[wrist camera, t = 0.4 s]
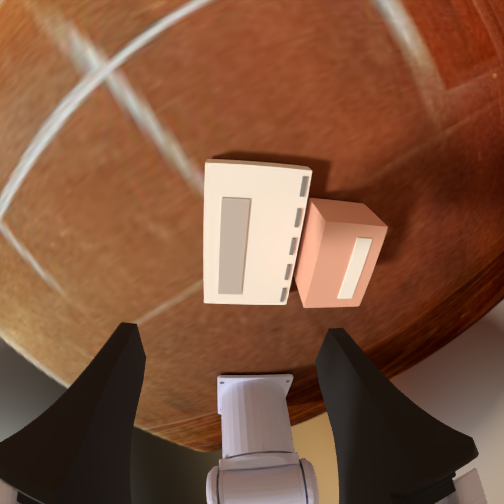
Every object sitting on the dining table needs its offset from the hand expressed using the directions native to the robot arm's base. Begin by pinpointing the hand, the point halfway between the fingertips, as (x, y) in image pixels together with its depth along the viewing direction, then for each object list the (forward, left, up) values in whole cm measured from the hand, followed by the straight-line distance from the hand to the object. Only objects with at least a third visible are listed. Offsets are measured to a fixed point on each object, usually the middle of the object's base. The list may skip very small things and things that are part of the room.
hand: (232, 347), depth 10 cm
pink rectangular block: (0, -7, -9) cm, 12 cm away
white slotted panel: (0, -1, -9) cm, 9 cm away
